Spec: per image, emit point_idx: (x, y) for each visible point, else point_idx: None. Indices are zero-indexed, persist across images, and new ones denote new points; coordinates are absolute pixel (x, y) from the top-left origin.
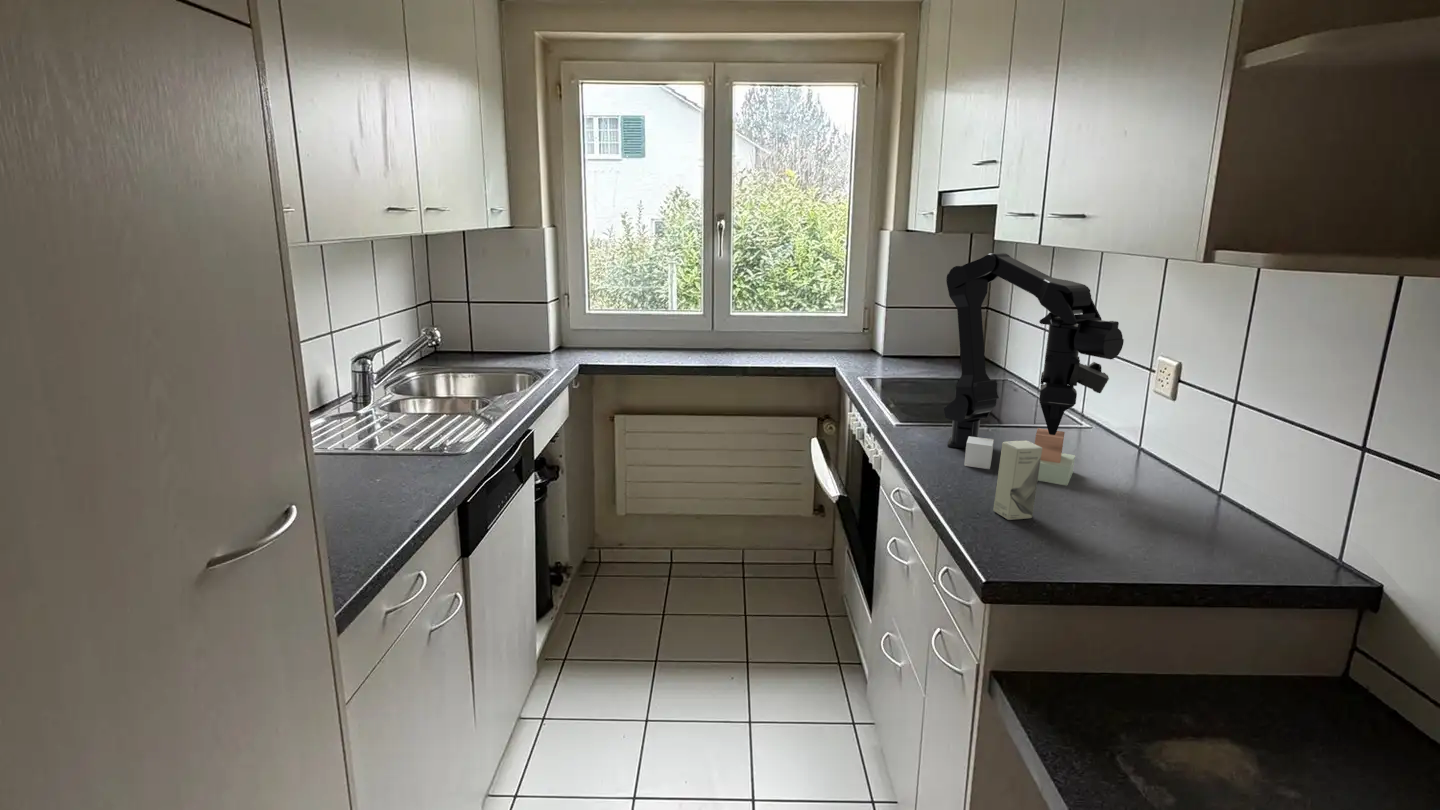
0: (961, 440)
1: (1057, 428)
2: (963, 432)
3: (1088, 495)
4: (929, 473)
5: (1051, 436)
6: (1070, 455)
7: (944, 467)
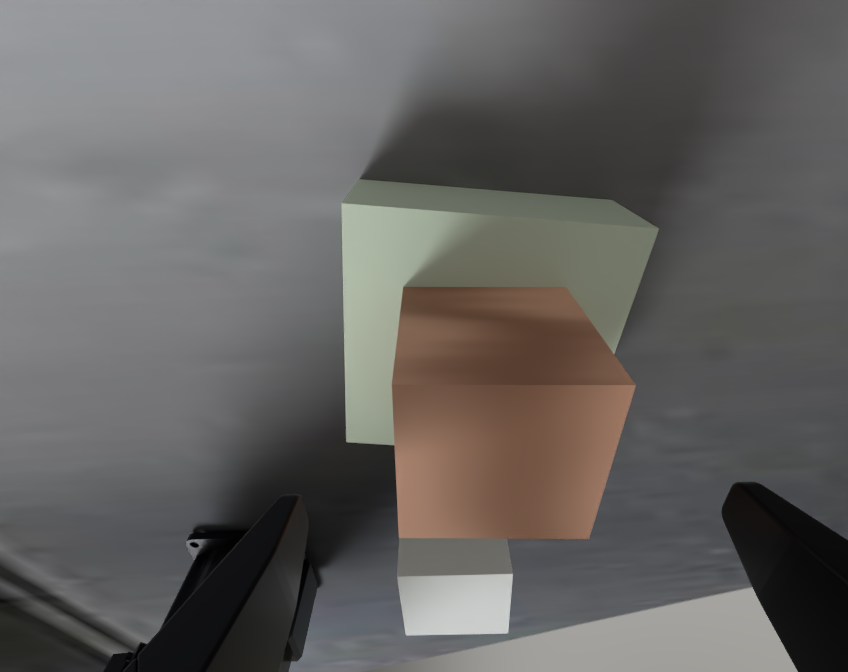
0: (310, 598)
1: (840, 537)
2: (300, 631)
3: (759, 77)
4: (614, 593)
5: (601, 461)
6: (364, 233)
7: (539, 575)
